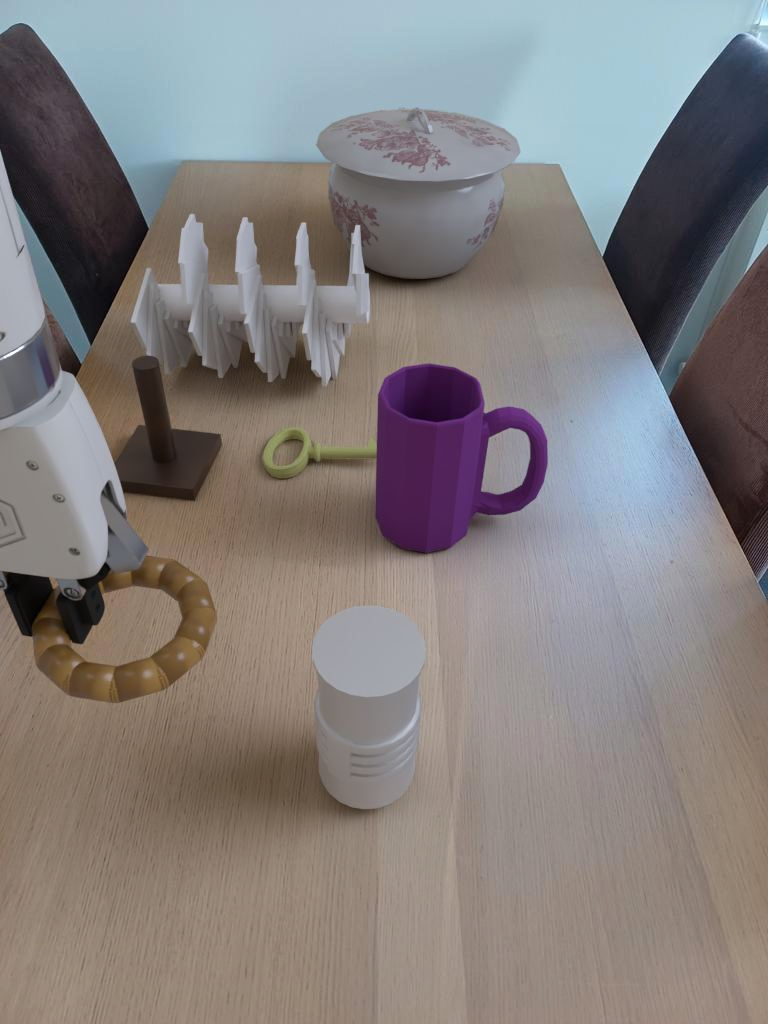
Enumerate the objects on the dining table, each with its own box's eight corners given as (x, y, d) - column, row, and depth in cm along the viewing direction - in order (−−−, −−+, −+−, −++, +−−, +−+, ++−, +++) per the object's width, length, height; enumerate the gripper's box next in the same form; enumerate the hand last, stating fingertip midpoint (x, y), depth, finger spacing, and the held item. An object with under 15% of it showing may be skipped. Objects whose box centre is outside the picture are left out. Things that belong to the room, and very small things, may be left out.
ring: (5, 693, 45) (-6, 672, 44) (82, 560, 53) (75, 539, 51) (184, 721, 44) (179, 700, 43) (236, 582, 52) (234, 561, 51)
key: (385, 467, 83) (385, 451, 82) (265, 482, 81) (264, 465, 80) (371, 426, 88) (371, 410, 87) (259, 439, 86) (257, 423, 85)
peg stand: (107, 490, 80) (77, 383, 71) (141, 435, 86) (117, 332, 78) (195, 500, 79) (175, 394, 70) (222, 445, 85) (207, 341, 77)
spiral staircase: (181, 370, 103) (375, 374, 101) (128, 390, 86) (360, 395, 84) (171, 218, 98) (376, 219, 96) (113, 209, 81) (360, 210, 79)
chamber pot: (450, 323, 105) (464, 160, 91) (282, 269, 116) (272, 115, 102) (536, 246, 123) (559, 100, 109) (384, 206, 133) (387, 67, 119)
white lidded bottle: (298, 793, 57) (286, 664, 46) (352, 721, 61) (352, 588, 51) (381, 844, 54) (387, 719, 44) (431, 765, 58) (447, 634, 48)
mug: (373, 490, 81) (376, 362, 70) (526, 489, 81) (551, 361, 71) (376, 556, 74) (380, 424, 64) (543, 554, 75) (573, 423, 64)
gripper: (-258, 388, 34) (-96, 652, 47) (105, 434, 33) (170, 693, 45) (-147, 302, 40) (-29, 559, 52) (169, 339, 38) (211, 593, 51)
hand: (63, 620), depth 49 cm, fingers closed on ring, 2 cm apart
